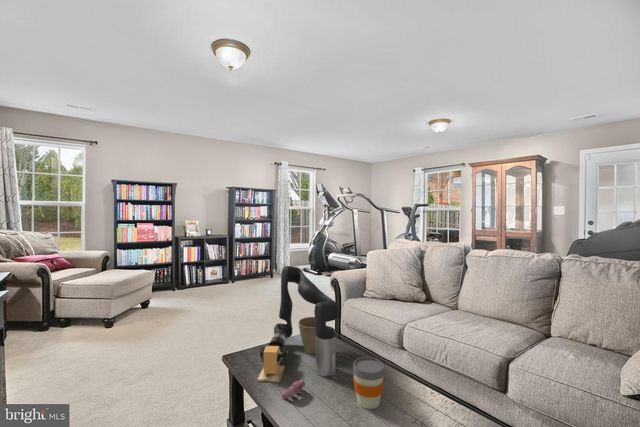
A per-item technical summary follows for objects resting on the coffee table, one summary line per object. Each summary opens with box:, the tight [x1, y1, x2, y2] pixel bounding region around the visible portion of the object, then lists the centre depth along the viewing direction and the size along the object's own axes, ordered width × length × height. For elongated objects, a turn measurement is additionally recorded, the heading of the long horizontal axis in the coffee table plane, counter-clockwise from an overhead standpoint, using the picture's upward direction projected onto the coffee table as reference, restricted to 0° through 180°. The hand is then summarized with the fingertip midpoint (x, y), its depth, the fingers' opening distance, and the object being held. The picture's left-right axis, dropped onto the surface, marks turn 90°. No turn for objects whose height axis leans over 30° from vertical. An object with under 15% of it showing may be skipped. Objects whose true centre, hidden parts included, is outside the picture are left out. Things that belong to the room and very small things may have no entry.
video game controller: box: [281, 379, 306, 400], centre depth 125 cm, size 10×5×7 cm, turn 143°
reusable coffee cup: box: [352, 356, 386, 410], centre depth 121 cm, size 13×13×15 cm
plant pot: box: [297, 316, 316, 355], centre depth 163 cm, size 15×15×16 cm
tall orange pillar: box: [263, 345, 280, 374], centre depth 140 cm, size 6×6×10 cm
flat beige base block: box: [257, 365, 285, 383], centre depth 140 cm, size 10×12×6 cm
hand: (270, 360), depth 138 cm, fingers closed on tall orange pillar, 5 cm apart
